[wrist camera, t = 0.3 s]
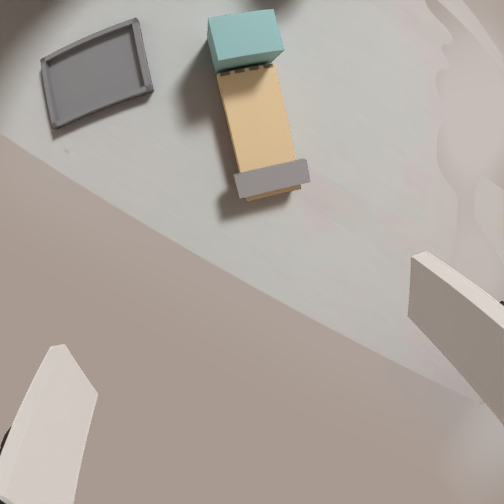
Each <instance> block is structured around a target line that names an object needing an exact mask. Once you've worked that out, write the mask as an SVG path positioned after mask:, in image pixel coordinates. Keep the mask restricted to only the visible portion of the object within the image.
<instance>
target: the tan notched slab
mask: <svg viewBox="0 0 504 504" xmlns="http://www.w3.org/2000/svg"><path fill="white" fill-rule="evenodd" d="M216 78H217V82H218V86H219V91H220V95H221V99H222V103H223V107H224V112H225V116H226V120H227V124H228V128H229V133H230V137H231V141H232V145H233V150H234V154H235V158H236V162H237V167H238V171H239V173H237V174H233V176H234V180H235V184H236V188H237V192H238V196H239V198H240V199H241V198H246V200H247V202H248V201H252V200H256V199H260V198H264V197H268V196H272V195H277V194H281V193H285V192H289V191H294V190H298V189H301V185H300V184H304V183H308V182H310V177H309V171H308V166H307V160H305V159H300V160H296V158H295V153H294V148H293V143H292V138H291V133H290V128H289V124H288V119H287V114H286V110H285V105H284V101H283V96H282V92H281V88H280V83H279V79H278V75H277V71H276V66H275V63H274V64H266V65H260V66H254V67H248V68H243V69H237V70H232V71H227V72H222V73H218V74H217V77H216Z"/></svg>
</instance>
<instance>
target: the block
mask: <svg viewBox="0 0 504 504" xmlns="http://www.w3.org/2000/svg"><path fill="white" fill-rule="evenodd" d="M207 41H208V45H209V49H210V53H211V57H212V62H213V66H214V70H215V74H218V73H222V72H227V71H232V70H237V69H243V68H248V67H254V66H260V65H266V64H270V63H271V62H272V61H273V60H274V59H275V58H276V57H278V56H279V55H280V54H281V53H282V52H283V51H284V46H283V42H282V38H281V35H280V31H279V27H278V24H277V20H276V16H275V13H274V9H267V10H258V11H250V12H242V13H235V14H229V15H223V16H218V17H212V18H208V31H207Z"/></svg>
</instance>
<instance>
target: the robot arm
mask: <svg viewBox="0 0 504 504" xmlns="http://www.w3.org/2000/svg"><path fill="white" fill-rule="evenodd" d="M408 317H409V318H410V319H411V320H412V321H413V322H414V323H415V324H416V325H417V326H418V328H419V329H420V330H421V331H422V332H423V333H424V334H425V335H426V336H427V337H428V338H429V339H430V340H431V341H432V343H433V344H434V345H435V346H436V347H437V348H438V349H439V350H440V351H441V352H442V353H443V355H444V356H445V357H446V358H447V359H448V360H449V361H450V362H451V363H452V365H453V366H454V367H455V368H456V369H457V370H458V371H459V373H460V374H461V375H462V376H463V377H464V378H465V379H466V381H467V382H468V383H469V384H470V385H471V386H472V388H473V389H474V390H475V391H476V392H477V393H478V395H479V396H480V397H481V398H482V399H483V401H484V402H485V403H486V404H487V405H488V407H489V408H490V409H491V410H492V412H493V413H494V414H495V415H496V416H497V418H498V419H499V420H500V422H501V423H502V424H503V425H504V302H503V301H501V302H498V301H497V300H495V299H494V298H493V297H491V296H490V295H489V294H487V293H486V292H484V291H483V290H482V289H480V288H479V287H478V286H476V285H475V284H473V283H472V282H471V281H470V280H468V279H467V278H465V277H464V276H462V275H461V274H460V273H458V272H457V271H455V270H454V269H452V268H451V267H450V266H448V265H447V264H445V263H444V262H442V261H441V260H439V259H438V258H436V257H435V256H433V255H432V254H430V253H429V252H427V251H426V252H423V253H420V254H417V255H414V256H411V276H410V294H409V308H408ZM97 397H98V393H97V392H96V390H95V389H94V388H93V386H92V385H91V383H90V382H89V381H88V379H87V378H86V376H85V375H84V373H83V372H82V371H81V369H80V367H79V366H78V364H77V363H76V361H75V360H74V358H73V357H72V355H71V353H70V352H69V350H68V348H67V347H66V345H65V344H63V345H57V346H51V347H50V348H49V350H48V352H47V354H46V356H45V358H44V360H43V361H42V363H41V365H40V367H39V369H38V371H37V373H36V375H35V377H34V379H33V381H32V383H31V385H30V387H29V389H28V391H27V394H26V395H25V398H24V400H23V402H22V404H21V406H20V409H19V411H18V413H17V415H16V418H15V420H14V422H13V425H12V426H11V427H10V429H9V430H8V431H7V433H6V434H5V436H4V438H3V441H2V443H1V449H0V504H73V503H74V497H75V492H76V486H77V481H78V476H79V471H80V465H81V461H82V456H83V452H84V447H85V443H86V439H87V435H88V431H89V427H90V423H91V419H92V415H93V411H94V408H95V404H96V401H97Z"/></svg>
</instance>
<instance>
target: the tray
mask: <svg viewBox="0 0 504 504" xmlns="http://www.w3.org/2000/svg"><path fill="white" fill-rule="evenodd" d="M40 61H41V68H42V75H43V82H44V88H45V94H46V99H47V104H48V109H49V114H50V119H51V124H52V128H53V129H56V128H60V127H62V126H64V125H67V124H69V123H71V122H73V121H75V120H78V119H80V118H82V117H85V116H87V115H89V114H92V113H94V112H97V111H99V110H102V109H104V108H107V107H109V106H112V105H114V104H117V103H120V102H123V101H125V100H128V99H131V98H134V97H137V96H140V95H143V94H146V93H149V92H152V91H154V89H153V85H152V81H151V76H150V72H149V67H148V63H147V58H146V54H145V49H144V44H143V39H142V34H141V29H140V24H139V21H138V19H137V18H134V19H131V20H128V21H125V22H122V23H119V24H117V25H114V26H111V27H109V28H106V29H104V30H101V31H99V32H96V33H94V34H92V35H89V36H87V37H85V38H82V39H80V40H78V41H76V42H74V43H72V44H70V45H67V46H65V47H63V48H61V49H59V50H57V51H55V52H54V53H52V54H50V55H48V56H46V57H44V58H42V59H41V60H40Z"/></svg>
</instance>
